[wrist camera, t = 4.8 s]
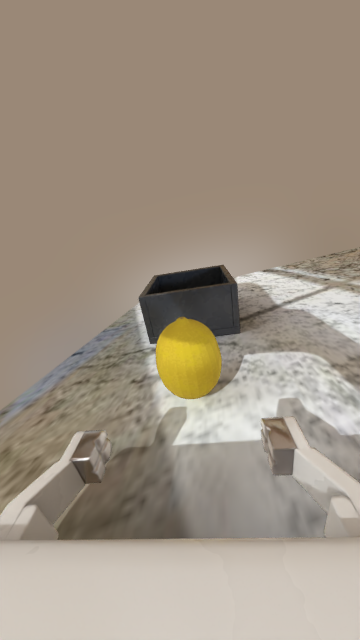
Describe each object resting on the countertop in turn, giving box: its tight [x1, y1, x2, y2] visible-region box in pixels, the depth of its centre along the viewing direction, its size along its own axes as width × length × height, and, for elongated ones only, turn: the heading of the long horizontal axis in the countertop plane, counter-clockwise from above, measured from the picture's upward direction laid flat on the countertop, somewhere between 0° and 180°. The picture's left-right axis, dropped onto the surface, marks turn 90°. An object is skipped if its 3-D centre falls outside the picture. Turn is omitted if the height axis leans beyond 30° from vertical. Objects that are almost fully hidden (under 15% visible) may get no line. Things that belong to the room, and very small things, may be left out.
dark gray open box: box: [139, 265, 240, 344], centre depth 34 cm, size 13×13×7 cm
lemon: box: [156, 317, 222, 399], centre depth 18 cm, size 6×6×8 cm
